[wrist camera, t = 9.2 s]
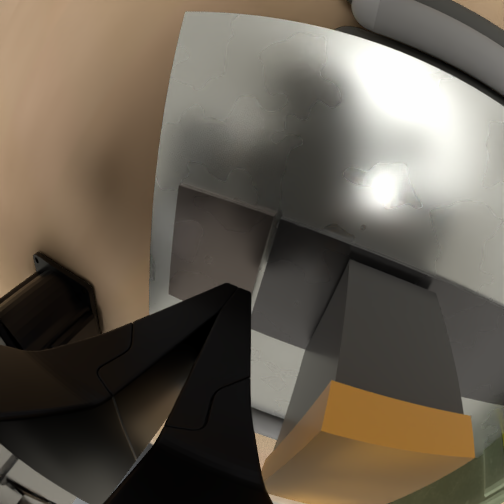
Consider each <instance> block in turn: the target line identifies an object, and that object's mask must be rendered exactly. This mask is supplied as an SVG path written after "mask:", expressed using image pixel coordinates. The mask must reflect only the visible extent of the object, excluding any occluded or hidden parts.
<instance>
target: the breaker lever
mask: <svg viewBox="0 0 504 504" xmlns="http://www.w3.org/2000/svg"><path fill="white" fill-rule="evenodd" d="M474 458H475V449H474V438H473V430H472V422H471V416H469V415H464V412H463V405H462V399H461V393H460V387H459V381H458V376H457V371H456V366H455V362H454V357H453V353H452V349H451V345H450V341H449V337H448V333H447V329H446V325H445V322H444V318H443V315H442V311H441V308H440V305H439V302H438V298H437V295H436V293H434V292H432V291H429V290H427V289H425V288H422V287H420V286H417V285H415V284H412V283H410V282H407V281H405V280H402V279H400V278H397V277H395V276H392V275H390V274H387V273H384V272H382V271H379V270H377V269H374V268H372V267H369V266H366V265H364V264H361V263H359V262H356V261H353V260H351V259H350V260H349V262H348V264H347V267H346V269H345V271H344V273H343V275H342V277H341V280H340V282H339V284H338V286H337V288H336V290H335V292H334V294H333V296H332V298H331V300H330V302H329V304H328V307H327V309H326V311H325V313H324V315H323V317H322V318H321V320H320V322H319V324H318V326H317V328H316V330H315V332H314V334H313V336H312V338H311V340H310V342H309V343H308V345H307V347H306V349H305V352H304V355H303V359H302V362H301V366H300V369H299V373H298V376H297V380H296V383H295V386H294V390H293V393H292V396H291V399H290V403H289V406H288V409H287V412H286V415H285V418H284V421H283V424H282V427H281V430H280V433H279V436H278V439H277V442H276V445H275V447H274V450H273V452H272V453H271V454H270V455H269V456H268V457H267V458H266V460H265V463H264V465H263V468H262V471H261V473H262V477H263V481H264V484H265V487H266V490H267V493H268V494H272V495H275V496H279V497H283V498H286V499H290V500H294V501H298V502H303V503H307V504H388V503H390V502H393V501H395V500H397V499H400V498H402V497H404V496H407V495H409V494H411V493H413V492H415V491H417V490H419V489H421V488H423V487H425V486H427V485H429V484H431V483H433V482H435V481H437V480H439V479H441V478H442V477H444V476H446V475H448V474H450V473H451V472H453V471H455V470H456V469H458V468H460V467H461V466H463V465H465V464H466V463H468V462H469V461H471V460H472V459H474Z"/></svg>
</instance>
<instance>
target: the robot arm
mask: <svg viewBox="0 0 504 504" xmlns="http://www.w3.org/2000/svg"><path fill="white" fill-rule="evenodd" d="M33 258H34V263H35V267H36V273H34V274H33V275H32V276H30V277H29V278H27V279H26V280H25V281H23V282H22V283H20V284H19V285H18V286H16V287H15V288H14V289H12V290H11V291H10V292H8V293H7V294H6V295H4V296H3V297H2V298H0V504H72V503H73V502H74V500H75V499H76V497H78V498H79V499H81V500H83V501H85V502H87V503H89V504H273V503H272V501H271V499H270V497H269V495H268V493H267V490H266V487H265V484H264V481H263V477H262V473H261V468H260V463H259V457H258V451H257V445H256V439H255V433H254V426H253V418H252V409H251V379H250V378H251V303H252V294H251V292H250V291H248V290H245V289H243V288H238V287H237V286H235V285H233V284H230V283H223V284H221V285H219V286H216V287H214V288H212V289H209V290H207V291H205V292H203V293H200V294H198V295H196V296H193V297H191V298H189V299H186V300H184V301H181V302H179V303H177V304H174V305H172V306H170V307H167V308H165V309H163V310H160V311H158V312H155V313H153V314H151V315H148V316H146V317H144V318H141V319H139V320H136V321H134V322H133V323H129V324H126V325H124V326H122V327H119V328H116V329H114V330H111V331H109V332H106V333H103V334H100V329H99V324H98V318H97V313H96V307H95V300H94V294H93V289H92V287H91V286H90V285H89V284H88V283H87V282H86V281H84V280H82V279H81V278H79V277H77V276H76V275H74V274H72V273H71V272H69V271H68V270H66V269H64V268H63V267H61V266H60V265H58V264H57V263H55V262H53V261H52V260H50V259H49V258H47V257H46V256H44V255H43V254H41V253H40V252H37V253H36V254H34V255H33ZM166 419H167V420H166ZM165 420H166V423H165V425H164V427H163V429H162V431H161V433H160V435H159V437H158V438H157V440H156V442H155V443H154V445H153V446H152V448H151V449H150V450H149V451H148V453H147V454H146V455H145V456H144V457H143V458H142V460H141V461H140V462H139V463H138V464H137V466H136V467H135V468H134V469H133V470H132V471H131V472H130V474H129V475H128V476H127V477H126V478H125V479H124V480H123V482H122V483H121V484H120V485H119V486H118V488H117V489H116V490H115V491H114V489H115V488H116V487H117V485H118V484H119V483H120V481H121V480H122V479H123V478H124V476H125V475H126V474H127V472H128V471H129V470H130V468H131V467H132V466H133V464H134V463H135V462H136V459H138V457H139V456H140V455H141V453H142V452H143V451H144V449H145V448H146V447H147V445H148V444H149V442H150V441H151V440H152V438H153V437H154V436H155V434H156V433H157V431H158V430H159V429H160V427H161V426H162V425H163V423H164V422H165ZM113 491H114V492H113ZM112 492H113V493H112ZM111 493H112V494H111Z"/></svg>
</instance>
